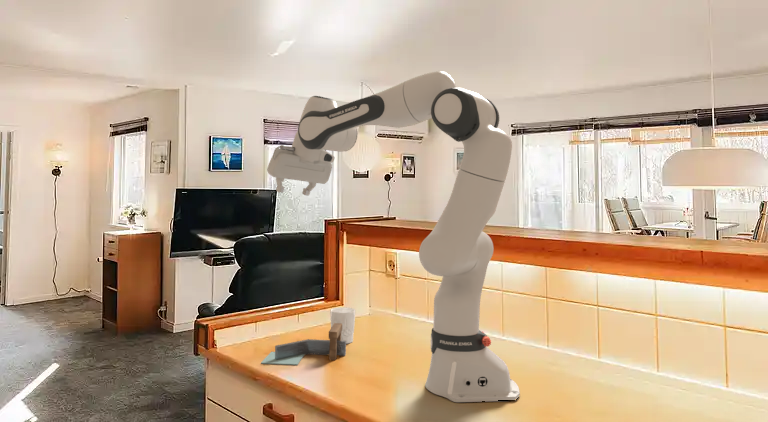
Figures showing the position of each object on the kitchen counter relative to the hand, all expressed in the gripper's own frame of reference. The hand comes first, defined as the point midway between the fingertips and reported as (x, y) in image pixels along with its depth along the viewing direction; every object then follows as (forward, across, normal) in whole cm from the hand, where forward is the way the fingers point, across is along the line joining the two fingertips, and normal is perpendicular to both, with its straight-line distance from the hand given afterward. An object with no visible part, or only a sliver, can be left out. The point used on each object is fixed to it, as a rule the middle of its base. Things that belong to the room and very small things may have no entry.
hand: (292, 193), depth 157 cm
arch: (+37, +10, -30) cm, 49 cm away
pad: (+41, -4, -24) cm, 48 cm away
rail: (+39, +3, -28) cm, 48 cm away
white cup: (+40, +20, -22) cm, 50 cm away
